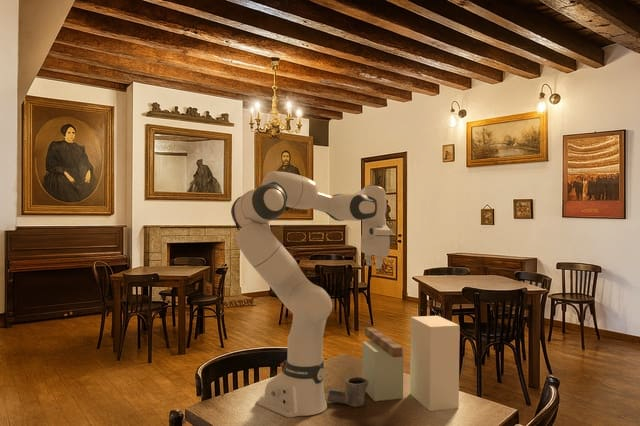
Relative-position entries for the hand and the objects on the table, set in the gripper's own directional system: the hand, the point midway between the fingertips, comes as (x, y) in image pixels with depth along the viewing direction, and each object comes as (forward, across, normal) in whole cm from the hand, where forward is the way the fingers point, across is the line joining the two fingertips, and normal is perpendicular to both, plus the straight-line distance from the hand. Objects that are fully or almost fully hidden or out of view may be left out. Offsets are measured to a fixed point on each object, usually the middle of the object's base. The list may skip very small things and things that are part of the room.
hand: (373, 267), depth 170 cm
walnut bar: (+25, +13, -2) cm, 28 cm away
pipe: (+41, +20, -16) cm, 49 cm away
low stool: (+41, +13, -2) cm, 43 cm away
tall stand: (+41, +23, +12) cm, 49 cm away
